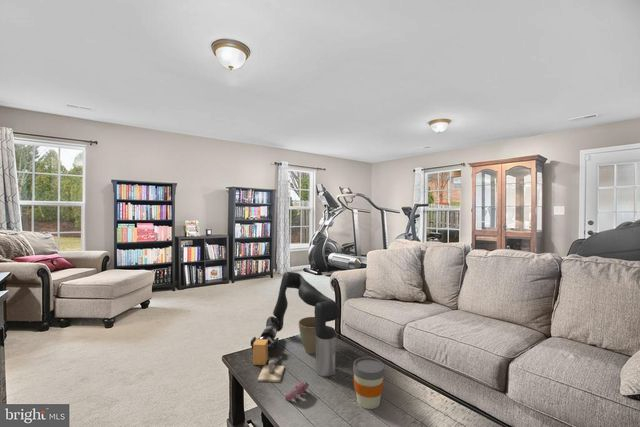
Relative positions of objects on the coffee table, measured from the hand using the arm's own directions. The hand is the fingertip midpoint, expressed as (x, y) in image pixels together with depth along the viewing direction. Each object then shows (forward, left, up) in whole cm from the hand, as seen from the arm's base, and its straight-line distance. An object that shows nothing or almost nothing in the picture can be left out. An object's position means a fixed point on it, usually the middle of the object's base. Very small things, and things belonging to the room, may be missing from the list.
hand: (261, 348), depth 153 cm
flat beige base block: (-8, +13, -6) cm, 16 cm away
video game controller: (-22, +28, -6) cm, 36 cm away
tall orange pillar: (0, +2, -6) cm, 6 cm away
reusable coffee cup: (-51, +30, -6) cm, 59 cm away
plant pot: (-25, -11, -6) cm, 28 cm away
